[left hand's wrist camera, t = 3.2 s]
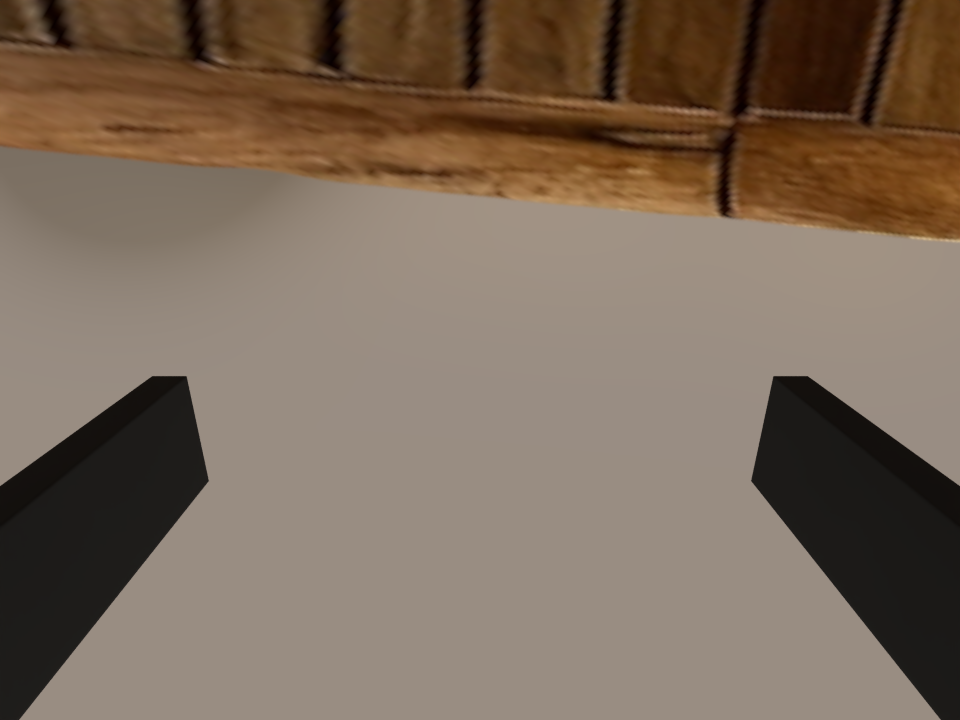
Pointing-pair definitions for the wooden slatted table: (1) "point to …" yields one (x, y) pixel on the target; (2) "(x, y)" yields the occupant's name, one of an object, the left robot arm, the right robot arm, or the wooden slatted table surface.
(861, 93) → the wooden slatted table surface
